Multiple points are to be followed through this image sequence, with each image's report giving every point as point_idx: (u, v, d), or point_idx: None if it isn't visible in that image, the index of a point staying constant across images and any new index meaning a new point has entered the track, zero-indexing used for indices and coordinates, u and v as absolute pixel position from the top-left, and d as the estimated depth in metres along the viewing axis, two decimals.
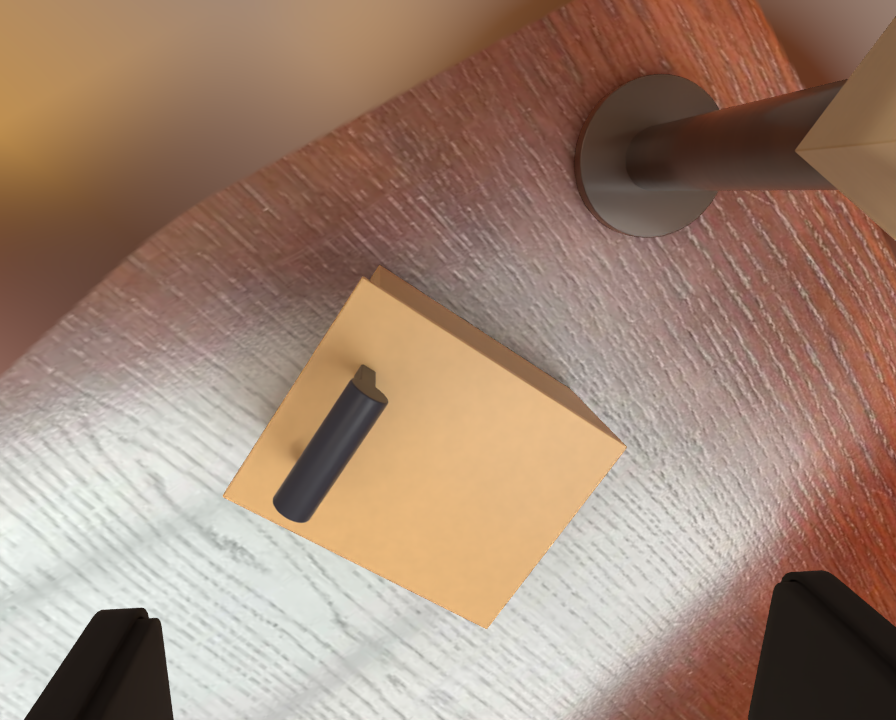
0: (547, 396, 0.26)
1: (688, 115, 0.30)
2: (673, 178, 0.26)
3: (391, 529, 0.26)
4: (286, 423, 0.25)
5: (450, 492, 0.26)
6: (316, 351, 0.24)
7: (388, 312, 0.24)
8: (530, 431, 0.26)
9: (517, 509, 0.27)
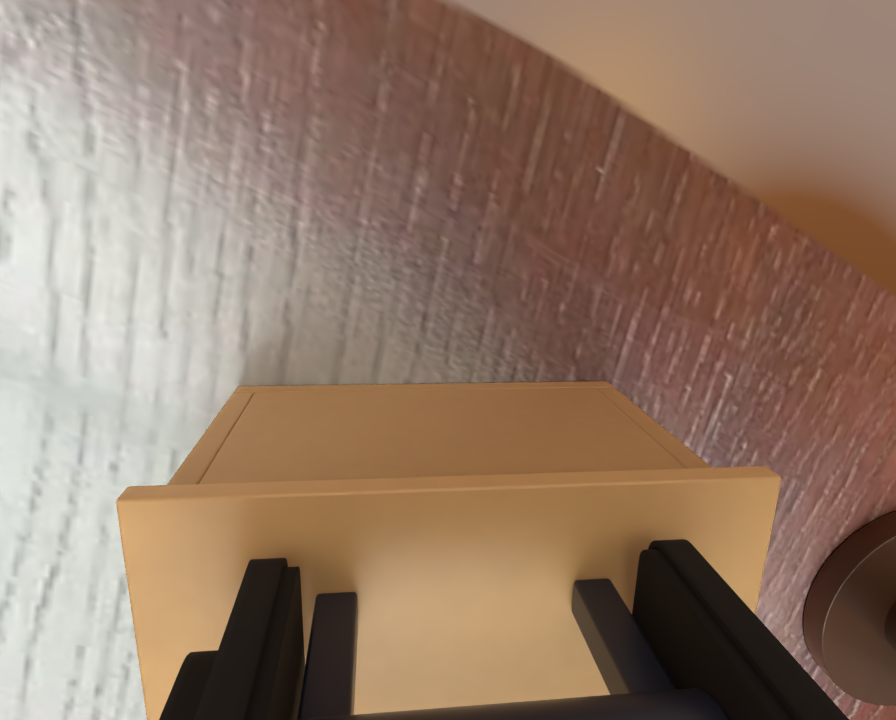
0: None
1: None
2: None
3: None
4: (393, 523, 0.10)
5: None
6: (587, 484, 0.10)
7: (736, 558, 0.11)
8: None
9: None
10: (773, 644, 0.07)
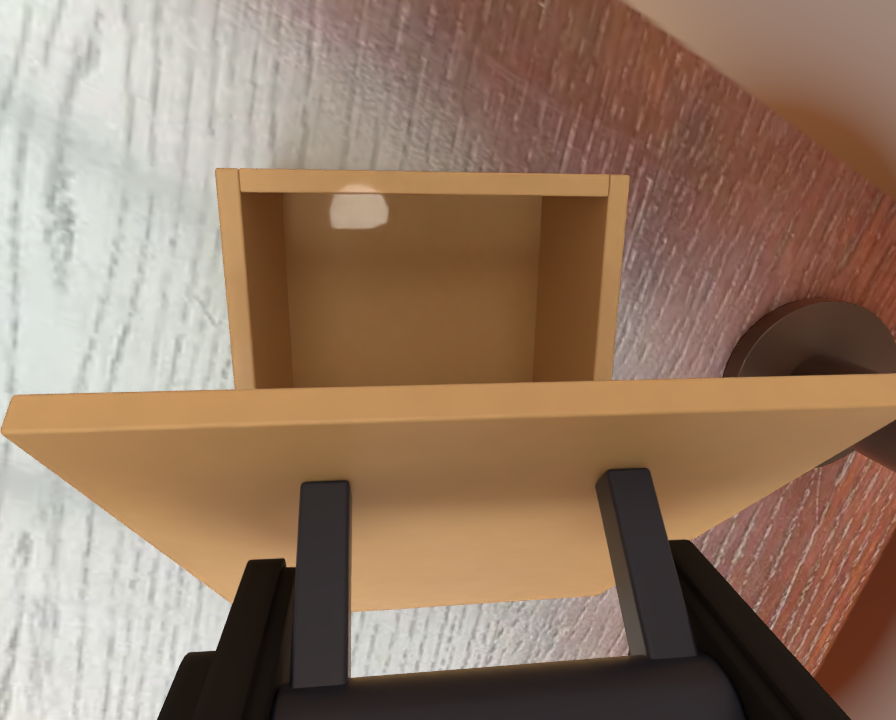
0: None
1: None
2: None
3: None
4: (394, 441, 0.07)
5: (428, 569, 0.14)
6: (660, 410, 0.07)
7: (805, 454, 0.09)
8: (584, 571, 0.16)
9: (451, 591, 0.17)
10: (775, 644, 0.07)
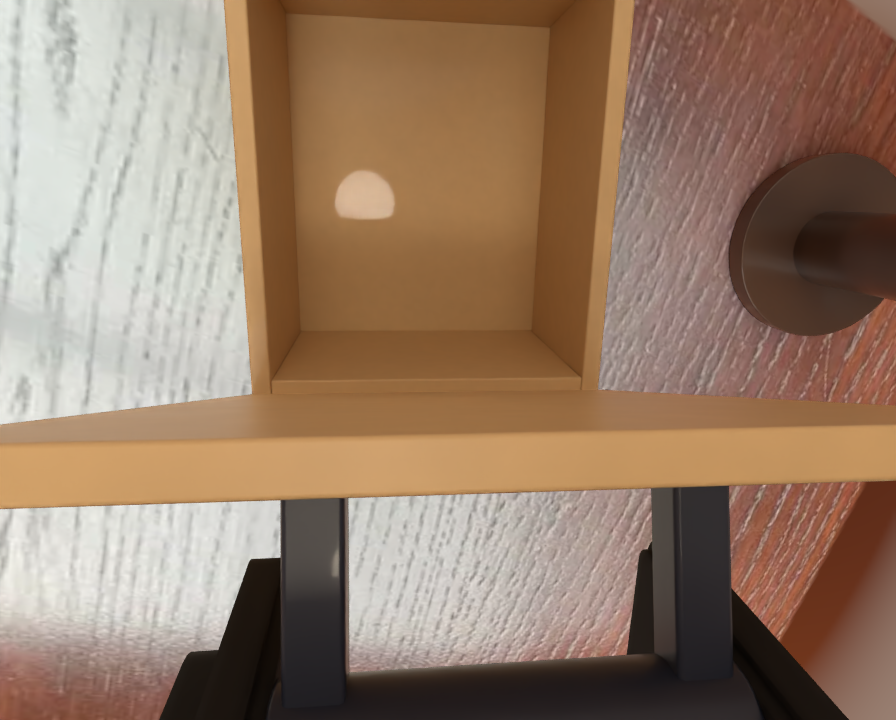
0: None
1: None
2: (878, 248, 0.22)
3: None
4: None
5: None
6: (789, 477, 0.05)
7: None
8: None
9: None
10: (773, 644, 0.07)
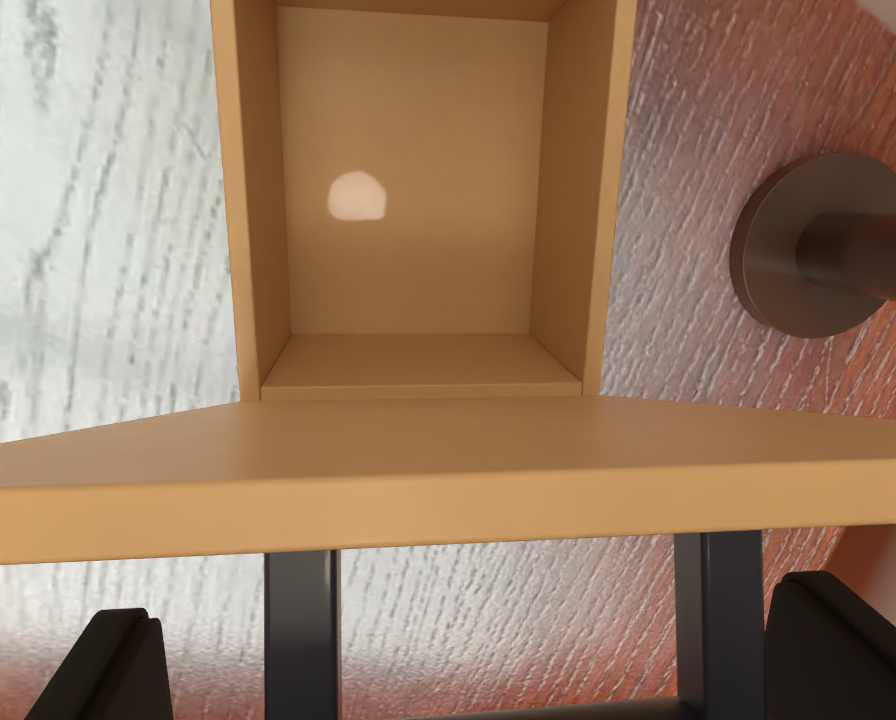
0: None
1: None
2: (884, 249, 0.21)
3: None
4: None
5: None
6: (848, 518, 0.04)
7: None
8: None
9: None
10: None
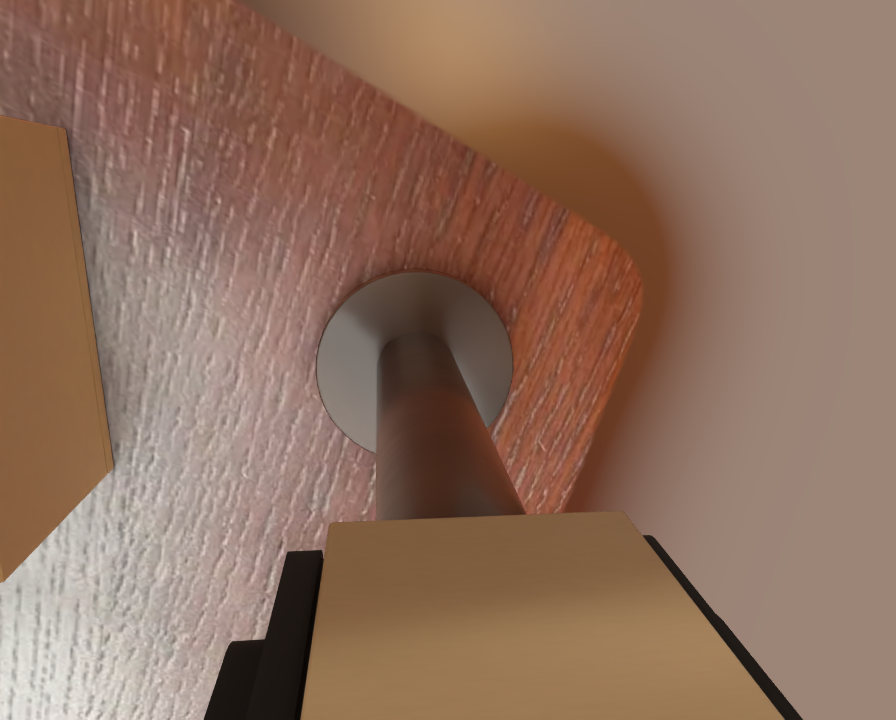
0: None
1: (479, 372, 0.24)
2: (377, 400, 0.19)
3: None
4: None
5: None
6: None
7: None
8: None
9: None
10: (726, 638, 0.07)
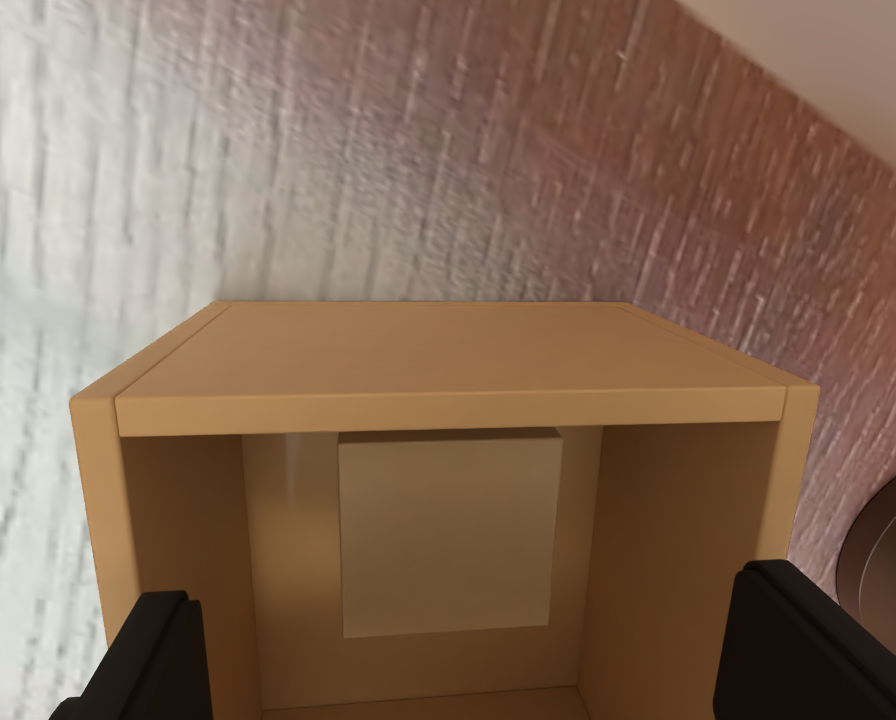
0: None
1: None
2: None
3: None
4: None
5: None
6: None
7: None
8: None
9: None
10: None
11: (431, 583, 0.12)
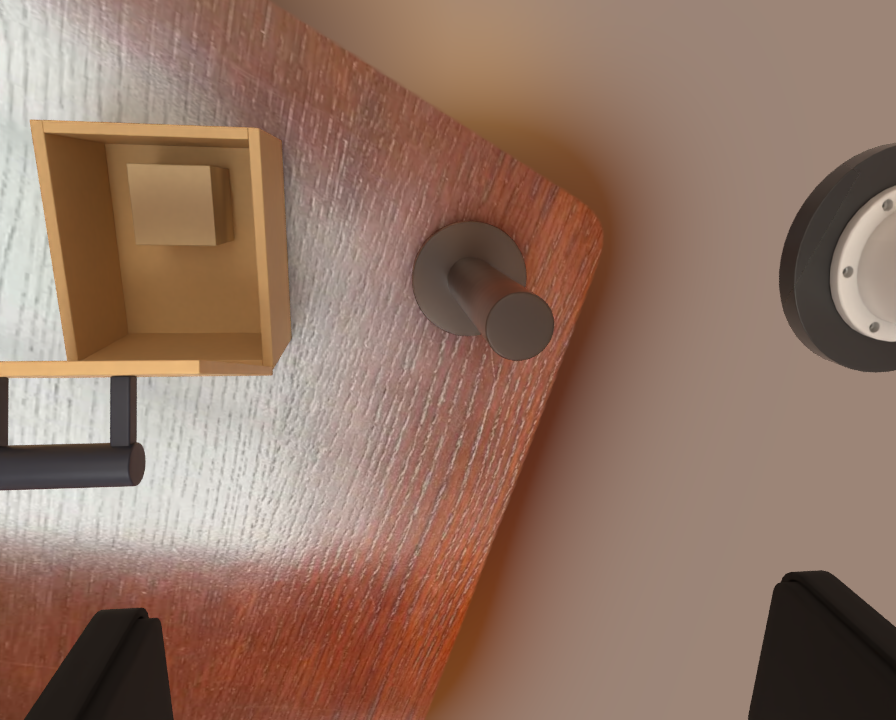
0: (255, 374, 0.30)
1: None
2: (456, 284, 0.36)
3: None
4: None
5: None
6: (89, 373, 0.20)
7: None
8: None
9: (163, 376, 0.31)
10: None
11: (167, 223, 0.34)
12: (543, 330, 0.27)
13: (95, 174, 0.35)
